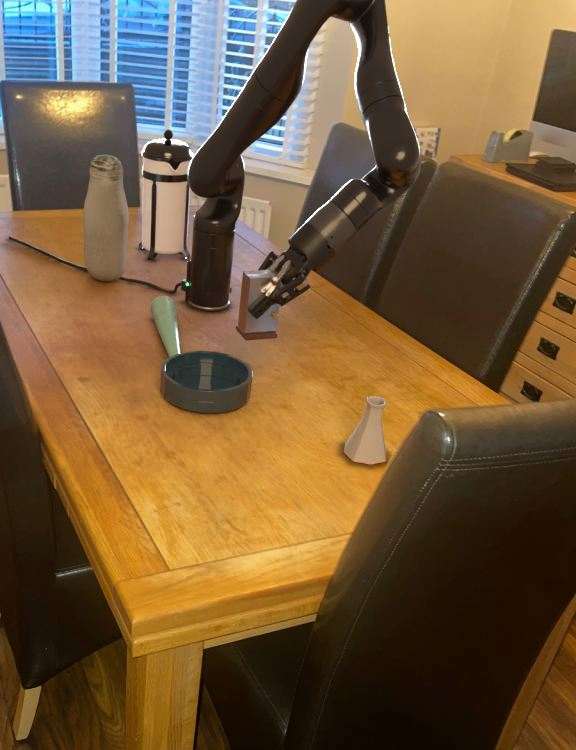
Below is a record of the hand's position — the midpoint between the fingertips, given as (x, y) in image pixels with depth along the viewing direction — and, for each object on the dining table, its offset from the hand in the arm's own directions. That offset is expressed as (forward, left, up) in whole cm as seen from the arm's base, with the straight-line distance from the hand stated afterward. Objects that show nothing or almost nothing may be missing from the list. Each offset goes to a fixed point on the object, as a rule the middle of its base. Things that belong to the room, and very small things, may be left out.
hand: (248, 310), depth 135 cm
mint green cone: (-23, +8, -17) cm, 29 cm away
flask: (+27, -3, -17) cm, 32 cm away
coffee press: (-62, +53, -17) cm, 83 cm away
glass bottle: (-58, +27, -17) cm, 66 cm away
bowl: (-5, -5, -16) cm, 18 cm away
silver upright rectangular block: (+1, +2, -5) cm, 5 cm away
